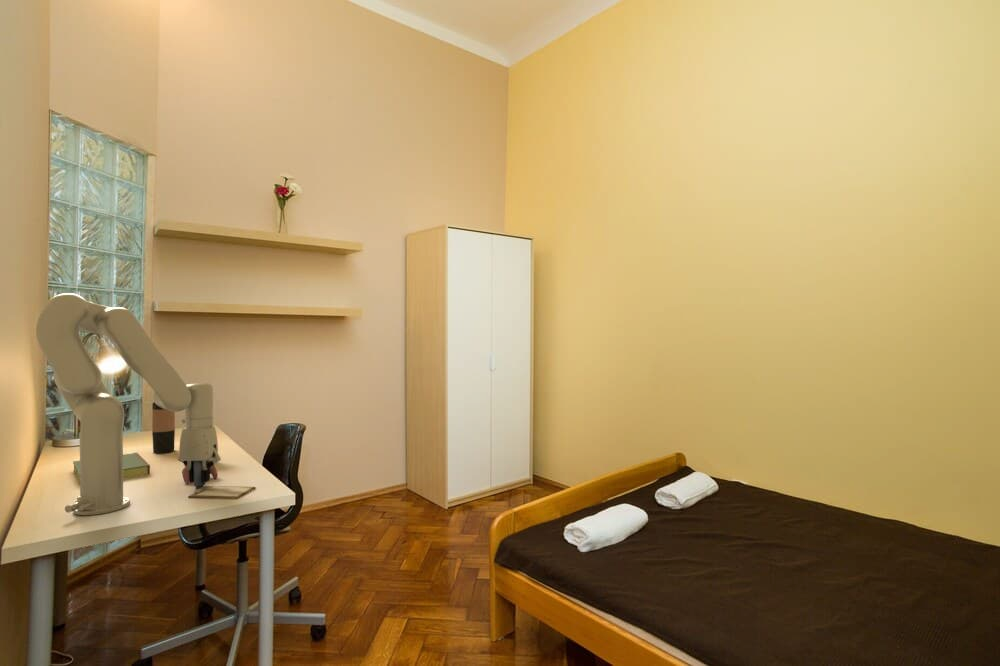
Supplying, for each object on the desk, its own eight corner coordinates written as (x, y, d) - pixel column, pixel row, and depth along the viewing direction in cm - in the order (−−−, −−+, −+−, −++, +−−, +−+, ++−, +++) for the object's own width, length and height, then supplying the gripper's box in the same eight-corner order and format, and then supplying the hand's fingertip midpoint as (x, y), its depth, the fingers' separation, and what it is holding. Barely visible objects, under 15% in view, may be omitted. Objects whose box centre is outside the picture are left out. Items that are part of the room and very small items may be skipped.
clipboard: (237, 499, 153) (237, 494, 153) (188, 497, 154) (188, 493, 154) (255, 488, 163) (255, 484, 163) (209, 487, 164) (209, 483, 164)
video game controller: (215, 481, 176) (212, 461, 178) (219, 477, 173) (216, 457, 175) (182, 487, 169) (179, 466, 171) (185, 484, 166) (182, 462, 168)
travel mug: (167, 453, 207) (166, 403, 207) (147, 453, 207) (147, 403, 207) (179, 449, 215) (178, 400, 215) (160, 449, 215) (160, 400, 215)
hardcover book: (149, 476, 178) (149, 465, 178) (79, 487, 166) (79, 475, 166) (137, 462, 197) (136, 452, 197) (72, 471, 184) (72, 461, 184)
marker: (201, 490, 161) (201, 454, 161) (190, 489, 162) (190, 454, 161) (208, 486, 165) (208, 451, 165) (198, 486, 165) (197, 451, 165)
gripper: (165, 424, 160) (166, 484, 160) (217, 425, 159) (217, 486, 159) (182, 420, 167) (182, 477, 167) (231, 421, 166) (231, 478, 166)
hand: (199, 481), depth 163 cm, fingers closed on marker, 3 cm apart
